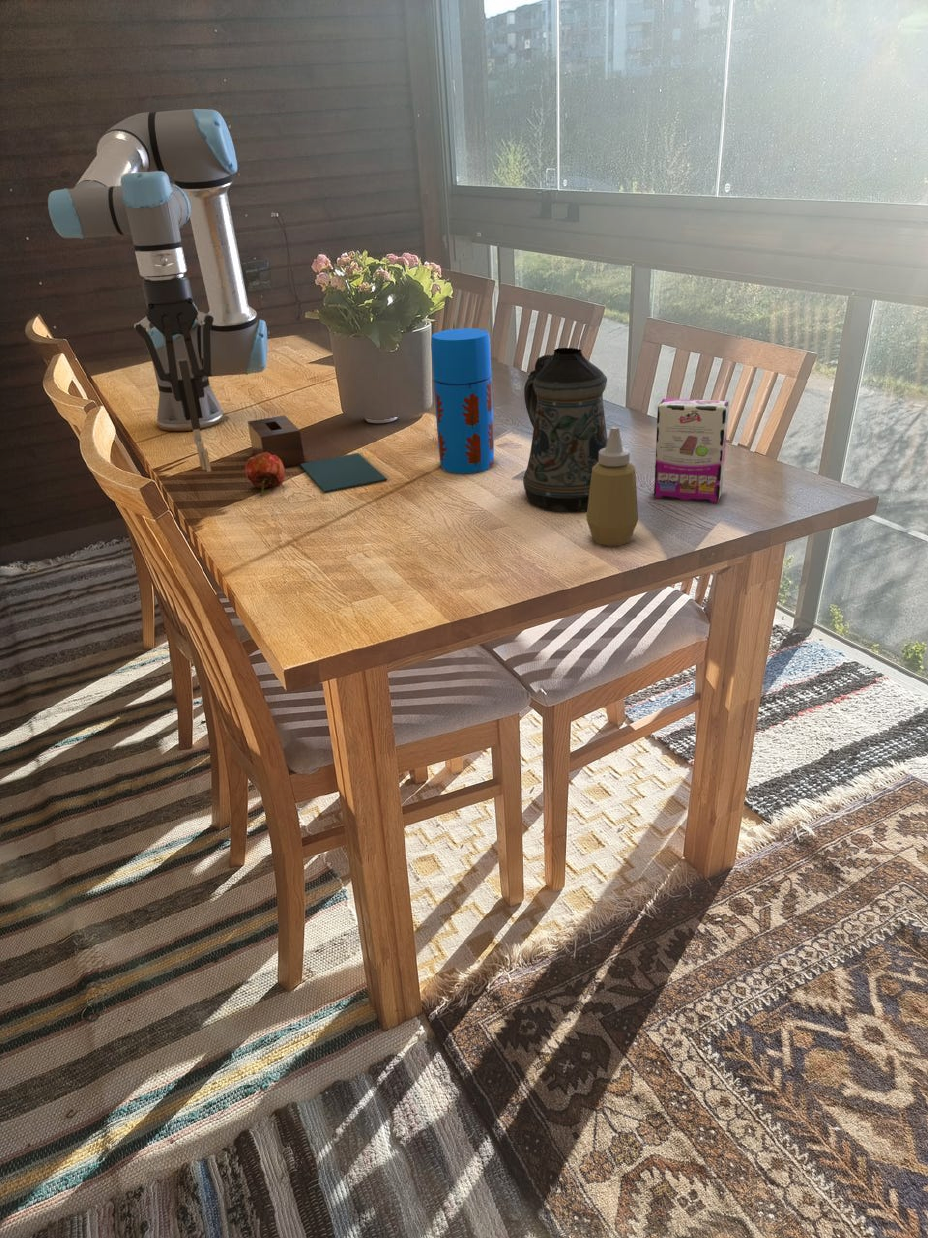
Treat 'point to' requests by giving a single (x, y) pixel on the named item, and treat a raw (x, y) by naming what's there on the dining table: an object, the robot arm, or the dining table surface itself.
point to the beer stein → (564, 430)
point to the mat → (342, 472)
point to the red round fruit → (265, 470)
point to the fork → (193, 414)
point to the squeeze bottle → (613, 494)
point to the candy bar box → (690, 449)
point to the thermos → (463, 399)
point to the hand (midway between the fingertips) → (193, 416)
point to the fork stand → (277, 439)
